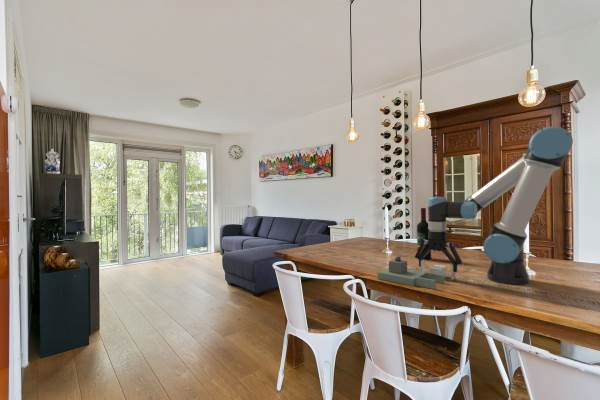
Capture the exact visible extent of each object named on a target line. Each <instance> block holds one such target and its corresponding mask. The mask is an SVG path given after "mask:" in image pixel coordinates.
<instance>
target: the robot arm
mask: <svg viewBox="0 0 600 400" xmlns="http://www.w3.org/2000/svg"><path fill="white" fill-rule="evenodd" d="M573 143H574V139H573V136H572V134H571V132H569V131H568V130H566V129H565V128H563V127H560V126H547V127H543V128H541V129H539V130H537V131H536V132H535V133H534V134H533V135H532V136H531V137H530V140H529V143H528V147H527V150H526V151H524V152H523V153H522V157H521V158H519V159H518V160H516V161H515V162H514V163H513V164H512V165H510V166H509V167H507V168H505V170H503V171H502V172H500V174H497V175H496V176H495V177H494V178H493V179H492V180H490V181H488V183H486V184H485V185H484V186H482V187H481V188H479V189H478V190H477V191H476V192H474V193H473V194H472V195H471V196H469V197H467V198H466V199H465V200H461V201H450V200H449V201H448V200H447V198H446V197H445V196H431V197H429V198H428V204H427V205H428V206H427V214H428V215H427V216H428V217H427V218H428V221H427V223H428V229H429V230H430V231H428V238H429V239H428V240H425V239H424V240H422V241H421V245H420V247H419V249H418V251H417V252H416V254H415V255H414V258H415V259H417V260H418V266H419V267H420V271H421V272H426V270H425V268H426V267H425V264H426V263H425V261H426V260H423V258H424V257H425V256H426V255H427V254H428V253H429V252H430V251H431V252H432V251H437V252H442V253H443V254H444V255H445V256H446V258H447V259H448V260H449V261H450V262H451V265H450V277H451V278H450V280H452V281H453V280H456V273H457V272H458V265H461V264H462V263H463V262H462V260H461V257H460V255H459V254H458V251H457V249H456V247H455V242H454V241H451V242H447V231H446V230H447V219H459V220H460V219H464V220H469V219H470V220H474V219H476V218H477V216H478V213H479V212H480V211H481V210H483V209H484V208H486V207H487V206H488V205H490V204H492V203H493V202H494V201H495V200H497V199H498V198H500V197H501V196H503V195H504V194H505V193H507V192H508V191H510V190H511V189H512V188H514V187H515V188H514V191H513V193H512V194H511V196H510V199H509V200H508V204H507V205H506V207H505V210H504V212H503V215H502V216H501V218H500V220H499V221H498V222H497V223H493V226H492V227H491V228H490V232H489V233H488V236H487V237H486V238H485V239H484V241H483V245H482V246H483V247H482V248H483V252H484V254H485V255H486V256H487V257H488V258H489V259H490V260H491V261H490V264H489V267H488V270H487V271H486V277H487V279H489V280H490V281H492V282H497V283H502V284H509V285H526V284H529V283H530V276H529V273H528V271H527V269H526V266H525V261H524V259H525V257H524V256H525V255H524V244H525V242H526V240H527V237H528V234H527V233H526V229H527V227H528V224H529V222H530V220H531V218H532V216H533V214H534V212H535V210H536V207H537V205H538V203H539V201H540V200H541V198H542V195H543V193H544V191H545V190H546V187H547V185H548V183H549V181H550V179H551V177H552V175H553V173H554V172H555V171H557V170H559V169H561V168H562V166H563V163H564V162H565V160H566V158H567V156H568V153H569V152H570V151H571V149H572V146H573ZM427 243H428V245H429V247H428V248H427V250H426V251H425V252H424V253H423V254H422V255H421V256H420V254H421V252H422V251H423V249H424V247H425V245H426V244H427ZM447 246H448V248H449V249H450V250H449V249H448V248H447ZM451 253H452V254H451Z"/></svg>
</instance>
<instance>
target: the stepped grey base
mask: <svg viewBox="0 0 600 400" xmlns="http://www.w3.org/2000/svg"><path fill="white" fill-rule="evenodd" d="M401 258H402V257H401V256H400V255H396V256H395V257H394V259H391V260H388V268H386V269H383V270H381V271H378V272H377V280H381V281H386V282H390V283H394V284H395V283H396V284H401V285H405V286H410V287H415V286H417V287H421V288H427V289H432V290H436V286H437V285H436V283H438V284H445V279H446V277H444V275H441V274H435V273H430V271H429V272H427V271H425V272H421V270H420V271H419V270H415V269H410V268H409V269H408V260H406V259H405V260H404V259H401Z"/></svg>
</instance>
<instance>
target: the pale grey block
mask: <svg viewBox="0 0 600 400" xmlns="http://www.w3.org/2000/svg"><path fill="white" fill-rule="evenodd" d="M428 269H429V273H435V274H441V275H444V277H445V278H447V265H439V264H433V265H432V266H429V268H428Z"/></svg>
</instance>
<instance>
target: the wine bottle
mask: <svg viewBox="0 0 600 400" xmlns="http://www.w3.org/2000/svg"><path fill="white" fill-rule="evenodd" d="M428 231H430V230H429V229H428V221H427V208H426V207H420V222H418V223H417V225H416V247H417V249H416V250H417V251H418V249H419V247H420V245H421V241H422V240H424V239H425V240H428V239H429V238H428ZM428 247H429V245H428V243H427V244H426V245H425V247H424V249H423V251H422V252H421V254H420V256H421V255H422V254H423V253H424V252H425V251H426V250H427V248H428ZM423 260H425V261H429V260H432V250H431V251H430V252H429V253H428V254H427V255H426V256H425V257H424V258H423Z"/></svg>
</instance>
